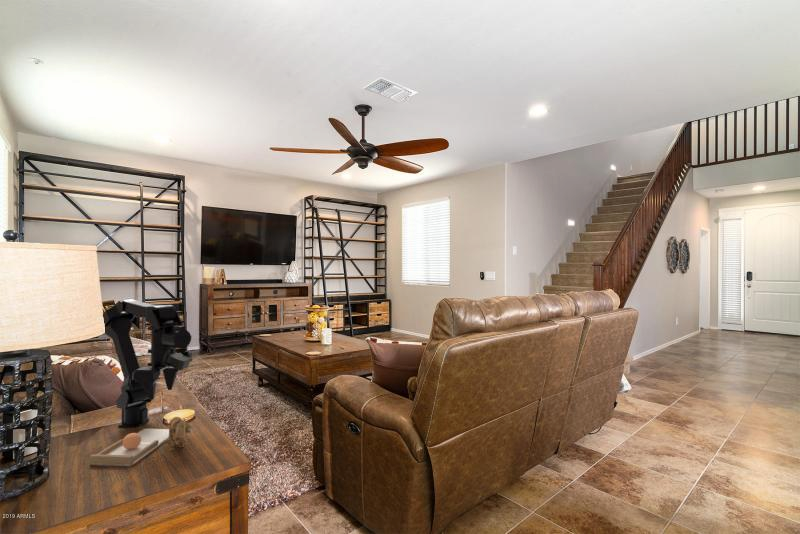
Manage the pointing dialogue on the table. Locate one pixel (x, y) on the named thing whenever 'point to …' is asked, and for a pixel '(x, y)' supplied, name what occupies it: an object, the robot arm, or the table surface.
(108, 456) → the lane
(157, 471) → the table surface
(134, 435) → the ball
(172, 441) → the lion figurine
